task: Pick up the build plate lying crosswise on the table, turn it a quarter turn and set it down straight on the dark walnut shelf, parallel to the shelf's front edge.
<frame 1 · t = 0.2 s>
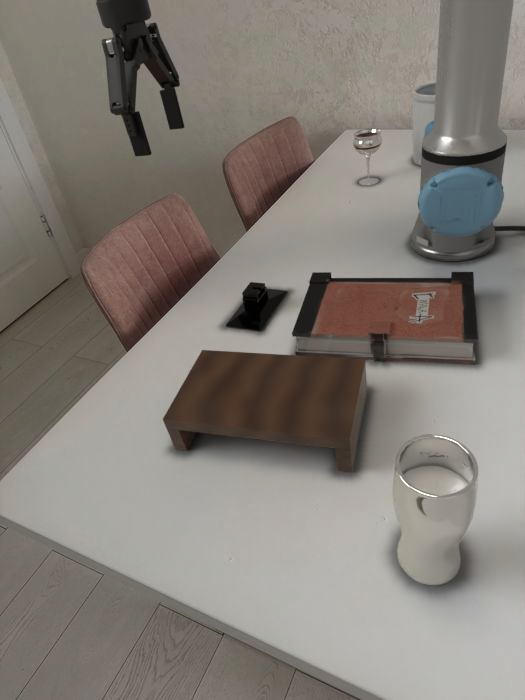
hand: (161, 141, 86), 28 cm above the table, tool pointing down, fingers open, 13 cm apart
shelf: (272, 419, 69), on the table
beer glass: (428, 557, 51), on the table
build plate: (258, 309, 91), on the table
book: (385, 328, 81), on the table
utensil holder: (440, 159, 131), on the table
wineglass: (368, 182, 128), on the table
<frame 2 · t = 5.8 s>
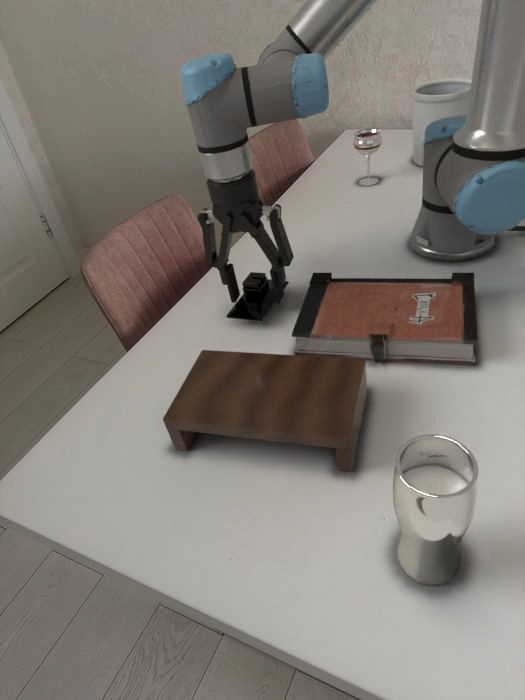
hand: (257, 298, 89), 2 cm above the table, tool pointing down, fingers closed on build plate, 8 cm apart
build plate: (258, 300, 90), point 2 cm above the table, touching gripper
everything else where it was.
when the fingers open (6 cm above the table, at t = 13.6 s): build plate stays where it is, resting on shelf.
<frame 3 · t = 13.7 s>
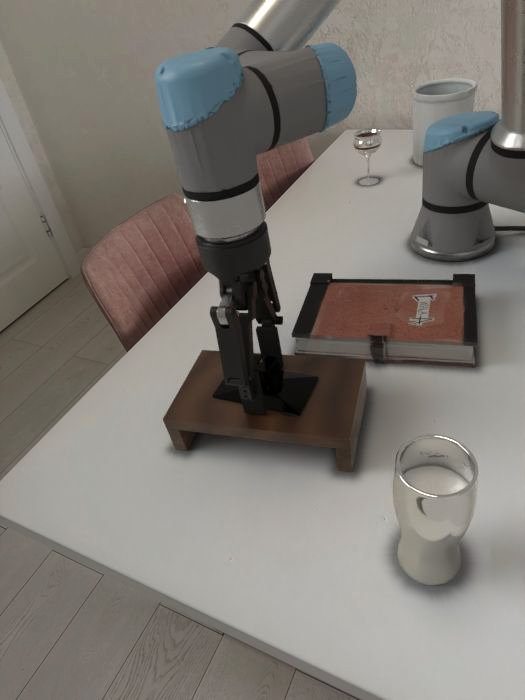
hand: (265, 387, 65), 6 cm above the table, tool pointing down, fingers open, 8 cm apart
build plate: (265, 389, 65), point 6 cm above the table, touching shelf
everything else where it was.
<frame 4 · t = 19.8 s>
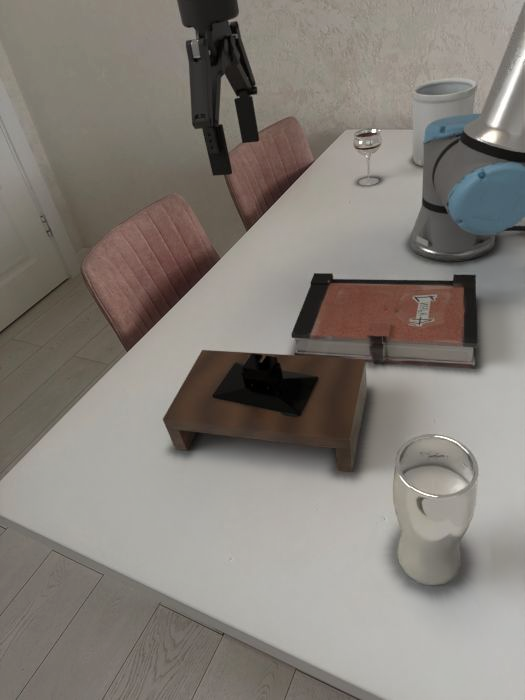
hand: (237, 157, 75), 27 cm above the table, tool pointing down, fingers open, 13 cm apart
nothing on the table moved.
at the end: build plate inside the target area on the shelf (0.1 cm from its centre), point 5.8 cm above the shelf's base; build plate touching shelf; the gripper is holding nothing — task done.
